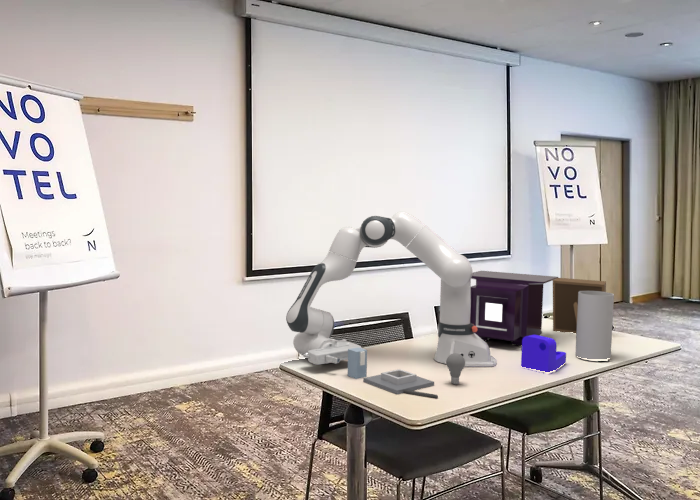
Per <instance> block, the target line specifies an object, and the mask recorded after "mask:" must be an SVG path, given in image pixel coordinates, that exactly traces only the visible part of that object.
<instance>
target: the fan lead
mask: <svg viewBox="0 0 700 500" xmlns="http://www.w3.org/2000/svg"><path fill="white" fill-rule="evenodd" d="M403 392H404V393H403V394H408V395H409V394H410V395H414V394H415V395H416V396H420V395H421V397H422V396H423V397H426V396H427V398H432V397H434V398H433V399H438V398H439V396H438V394H435V393H434V394H433V393H428V392H422V391H417V390H414V391H411V390H404V391H403Z"/></svg>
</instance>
